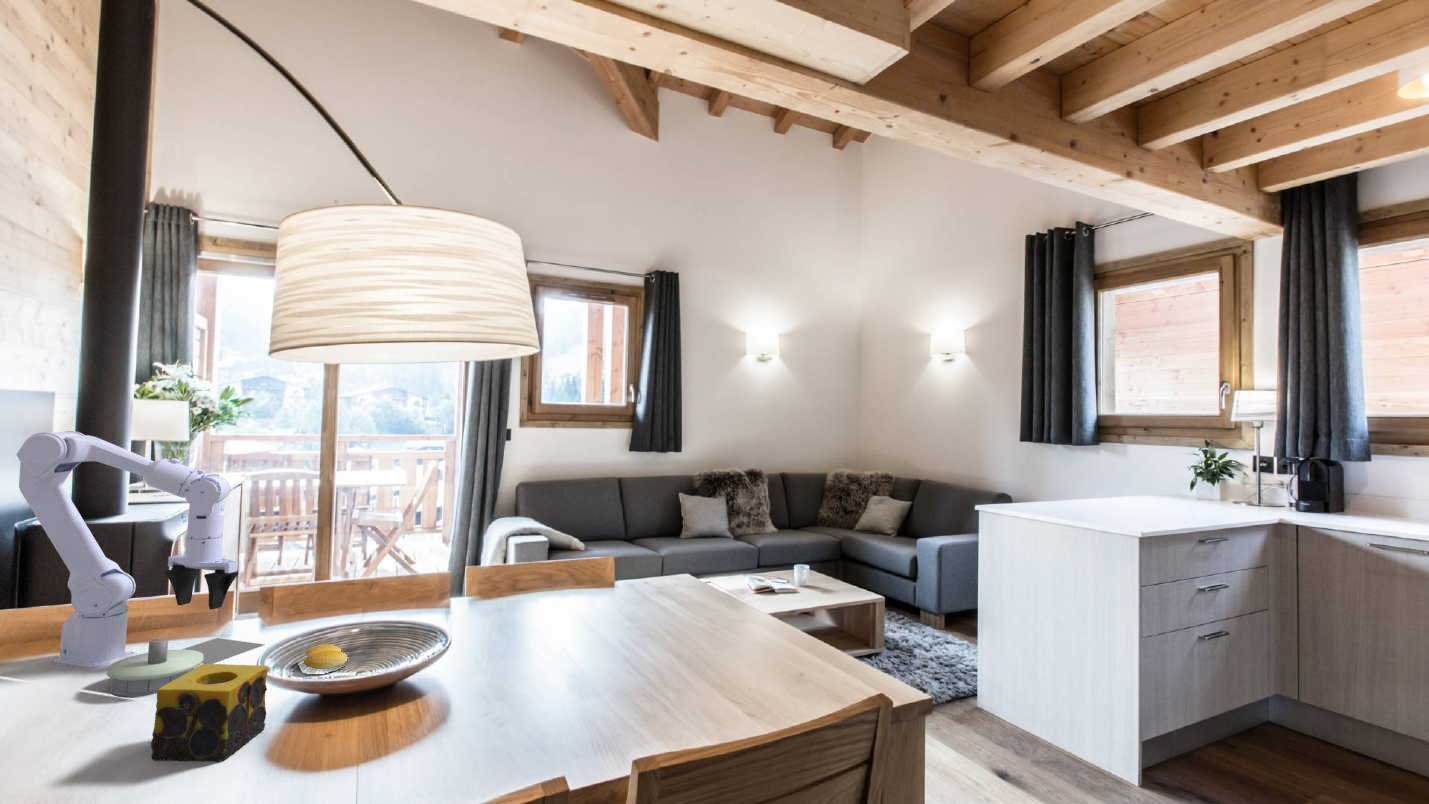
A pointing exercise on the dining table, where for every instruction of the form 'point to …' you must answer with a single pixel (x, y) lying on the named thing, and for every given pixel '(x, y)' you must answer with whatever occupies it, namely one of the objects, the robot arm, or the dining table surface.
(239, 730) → the yellow patterned cube
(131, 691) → the bowl
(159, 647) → the lid
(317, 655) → the bread roll
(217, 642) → the mat
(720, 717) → the dining table surface
